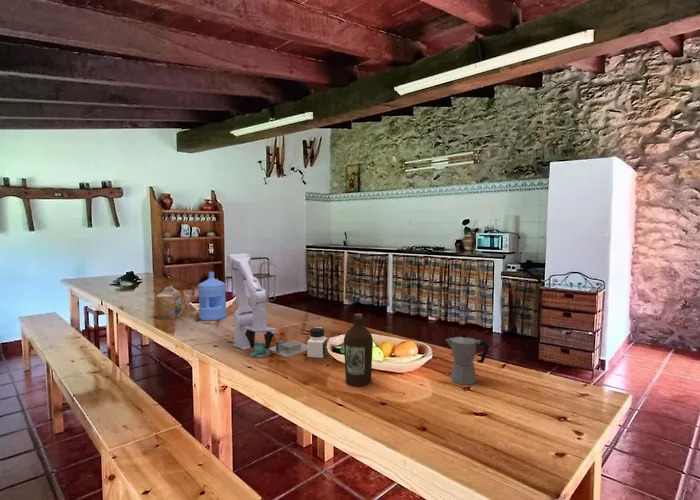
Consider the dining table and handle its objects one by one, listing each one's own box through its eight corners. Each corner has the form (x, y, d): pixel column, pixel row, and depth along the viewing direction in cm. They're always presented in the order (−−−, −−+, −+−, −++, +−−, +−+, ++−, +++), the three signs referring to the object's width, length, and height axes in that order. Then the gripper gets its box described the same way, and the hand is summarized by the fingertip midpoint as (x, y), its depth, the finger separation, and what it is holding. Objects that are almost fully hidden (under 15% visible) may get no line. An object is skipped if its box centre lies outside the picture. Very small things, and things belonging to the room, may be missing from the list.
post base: (266, 350, 189) (266, 339, 188) (294, 342, 200) (294, 332, 200) (286, 357, 179) (285, 345, 179) (313, 348, 191) (313, 337, 190)
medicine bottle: (323, 358, 177) (322, 330, 176) (307, 357, 179) (306, 330, 178) (327, 352, 184) (327, 326, 183) (312, 351, 186) (311, 325, 185)
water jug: (206, 314, 260) (205, 270, 258) (230, 315, 258) (229, 270, 256) (194, 320, 245) (192, 273, 242) (219, 321, 242) (217, 273, 240)
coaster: (245, 354, 183) (245, 353, 183) (262, 349, 190) (262, 348, 190) (257, 358, 177) (257, 357, 177) (274, 353, 184) (274, 352, 184)
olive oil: (349, 374, 159) (348, 310, 157) (376, 377, 155) (375, 312, 153) (340, 385, 148) (339, 316, 146) (368, 388, 145) (368, 318, 143)
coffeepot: (443, 382, 150) (443, 333, 149) (447, 373, 159) (447, 327, 158) (487, 388, 145) (488, 338, 143) (489, 379, 153) (490, 331, 152)
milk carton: (174, 319, 248) (173, 288, 246) (157, 319, 248) (155, 288, 246) (182, 315, 258) (180, 285, 257) (165, 315, 258) (164, 285, 257)
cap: (248, 356, 179) (247, 347, 179) (258, 350, 187) (258, 341, 187) (257, 357, 178) (257, 348, 177) (268, 351, 185) (268, 343, 185)
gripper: (239, 318, 181) (240, 349, 182) (269, 321, 176) (270, 352, 177) (248, 315, 187) (249, 344, 188) (277, 317, 183) (278, 347, 184)
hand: (260, 347), depth 183 cm, fingers open, 7 cm apart
